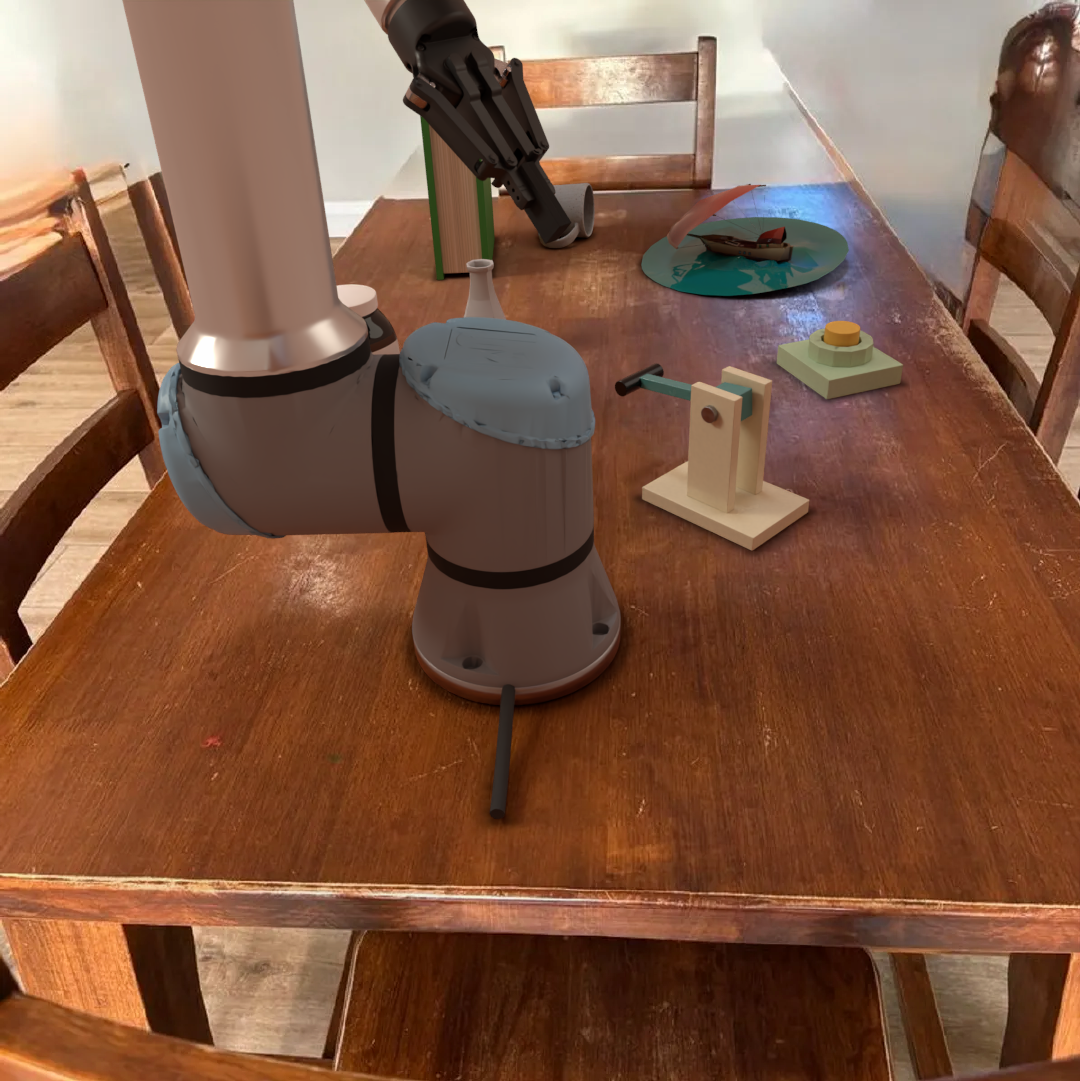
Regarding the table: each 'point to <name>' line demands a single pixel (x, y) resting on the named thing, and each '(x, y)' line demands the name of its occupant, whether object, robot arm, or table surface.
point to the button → (842, 334)
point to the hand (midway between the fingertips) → (558, 233)
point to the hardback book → (456, 207)
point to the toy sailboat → (741, 251)
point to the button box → (839, 365)
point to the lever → (676, 387)
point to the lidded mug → (370, 317)
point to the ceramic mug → (575, 212)
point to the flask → (482, 291)
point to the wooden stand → (728, 468)
